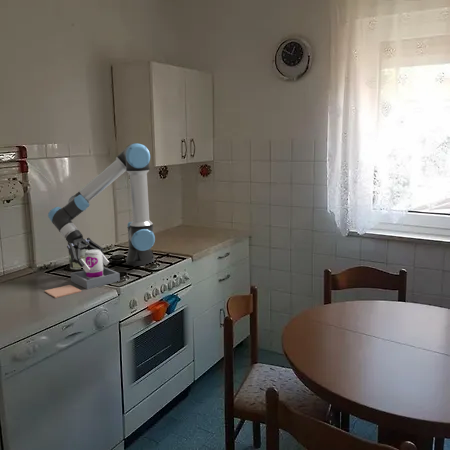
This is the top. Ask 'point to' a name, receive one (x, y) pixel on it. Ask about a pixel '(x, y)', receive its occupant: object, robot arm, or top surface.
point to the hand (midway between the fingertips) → (98, 267)
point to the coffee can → (82, 256)
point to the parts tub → (108, 278)
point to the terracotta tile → (62, 291)
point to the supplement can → (94, 263)
